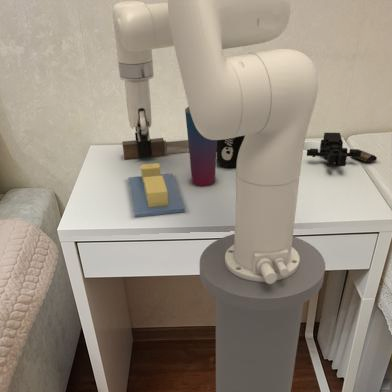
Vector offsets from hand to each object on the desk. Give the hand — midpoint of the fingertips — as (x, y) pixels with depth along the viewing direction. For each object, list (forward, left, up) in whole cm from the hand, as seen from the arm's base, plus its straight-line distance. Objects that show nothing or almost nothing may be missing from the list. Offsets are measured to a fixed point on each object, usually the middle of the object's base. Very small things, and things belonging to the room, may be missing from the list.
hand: (144, 152), depth 122 cm
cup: (-18, -11, -1) cm, 22 cm away
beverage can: (-10, -19, -1) cm, 22 cm away
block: (-15, -50, -1) cm, 52 cm away
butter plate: (-23, 0, -1) cm, 23 cm away
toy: (-23, -40, +1) cm, 46 cm away
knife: (0, -4, -1) cm, 5 cm away
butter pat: (-16, 0, 0) cm, 16 cm away
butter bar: (-26, 0, 0) cm, 26 cm away
